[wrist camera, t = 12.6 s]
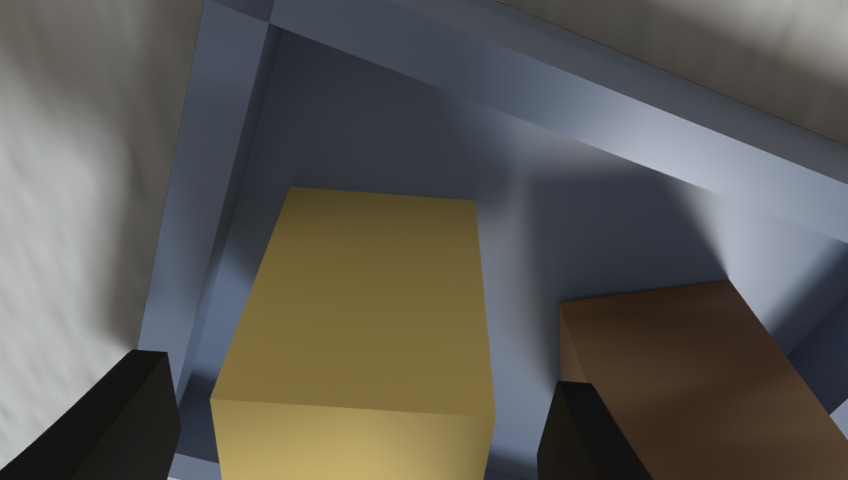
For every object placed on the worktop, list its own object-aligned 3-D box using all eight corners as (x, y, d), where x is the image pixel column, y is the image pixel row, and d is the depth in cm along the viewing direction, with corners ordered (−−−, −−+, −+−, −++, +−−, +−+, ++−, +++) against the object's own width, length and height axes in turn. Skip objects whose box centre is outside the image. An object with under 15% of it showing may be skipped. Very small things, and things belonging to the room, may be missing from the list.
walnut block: (729, 279, 15) (898, 508, 10) (710, 398, 17) (842, 634, 12) (558, 302, 15) (642, 540, 10) (561, 417, 18) (632, 659, 13)
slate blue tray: (947, 188, 15) (1049, 265, 12) (642, 504, 22) (669, 595, 19) (263, -96, 12) (217, -69, 9) (157, 375, 19) (115, 463, 16)
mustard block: (475, 200, 14) (495, 417, 9) (455, 337, 16) (464, 571, 11) (289, 186, 14) (209, 398, 9) (295, 326, 16) (234, 558, 11)
